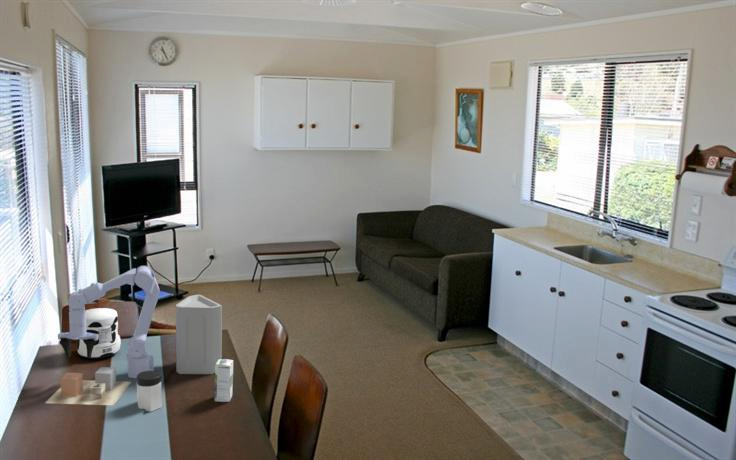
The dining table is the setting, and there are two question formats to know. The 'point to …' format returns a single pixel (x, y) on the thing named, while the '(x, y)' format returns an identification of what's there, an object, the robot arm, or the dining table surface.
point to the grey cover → (106, 377)
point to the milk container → (101, 333)
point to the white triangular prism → (198, 335)
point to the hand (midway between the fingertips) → (79, 357)
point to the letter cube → (97, 390)
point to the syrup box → (223, 380)
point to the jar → (149, 390)
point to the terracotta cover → (71, 384)
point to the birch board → (85, 398)
